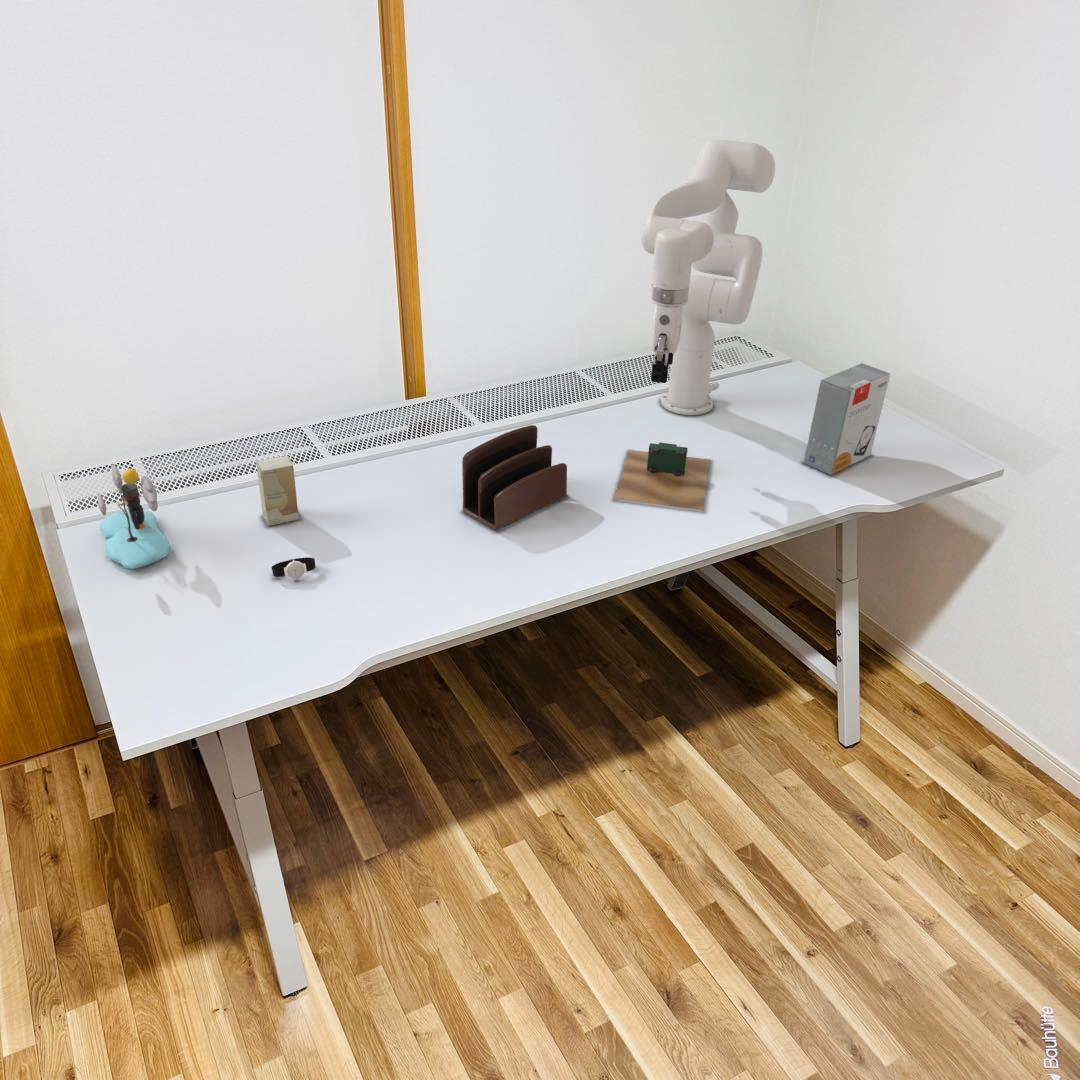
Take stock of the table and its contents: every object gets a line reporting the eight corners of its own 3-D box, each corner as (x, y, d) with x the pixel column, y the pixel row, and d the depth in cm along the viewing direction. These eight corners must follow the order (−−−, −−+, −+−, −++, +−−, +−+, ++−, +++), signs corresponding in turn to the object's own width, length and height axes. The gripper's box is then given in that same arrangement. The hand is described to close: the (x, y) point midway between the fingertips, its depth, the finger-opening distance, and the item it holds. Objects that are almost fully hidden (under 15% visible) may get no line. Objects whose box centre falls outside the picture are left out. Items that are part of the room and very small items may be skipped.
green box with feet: (646, 472, 210) (648, 449, 207) (648, 463, 214) (650, 440, 211) (683, 477, 209) (686, 453, 206) (685, 467, 213) (688, 444, 210)
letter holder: (461, 512, 196) (460, 449, 188) (533, 479, 208) (534, 418, 200) (495, 532, 190) (495, 468, 182) (567, 497, 202) (570, 435, 194)
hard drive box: (831, 476, 212) (849, 391, 201) (802, 463, 216) (818, 379, 205) (872, 455, 220) (891, 372, 209) (843, 442, 225) (860, 361, 214)
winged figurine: (98, 524, 189) (80, 454, 181) (156, 511, 193) (141, 443, 185) (113, 579, 174) (94, 505, 166) (175, 564, 178) (160, 491, 170)
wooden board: (628, 451, 219) (628, 449, 219) (710, 461, 216) (710, 459, 216) (614, 500, 201) (614, 498, 201) (702, 512, 198) (702, 510, 198)
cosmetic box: (268, 527, 190) (259, 471, 183) (262, 516, 193) (254, 461, 186) (301, 519, 192) (293, 464, 185) (294, 508, 195) (287, 454, 189)
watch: (275, 585, 174) (272, 568, 172) (270, 570, 177) (267, 554, 175) (318, 575, 176) (316, 559, 175) (313, 561, 180) (311, 545, 178)
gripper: (683, 310, 190) (674, 391, 200) (692, 281, 204) (684, 358, 214) (644, 306, 191) (638, 387, 201) (656, 278, 206) (649, 354, 215)
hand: (661, 372), depth 207 cm, fingers open, 9 cm apart
